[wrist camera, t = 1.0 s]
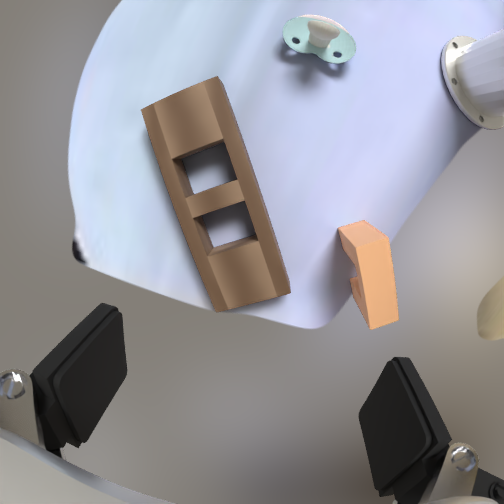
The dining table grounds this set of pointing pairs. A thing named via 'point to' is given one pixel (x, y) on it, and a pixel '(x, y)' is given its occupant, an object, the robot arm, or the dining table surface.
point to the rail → (216, 195)
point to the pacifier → (319, 38)
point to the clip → (371, 273)
